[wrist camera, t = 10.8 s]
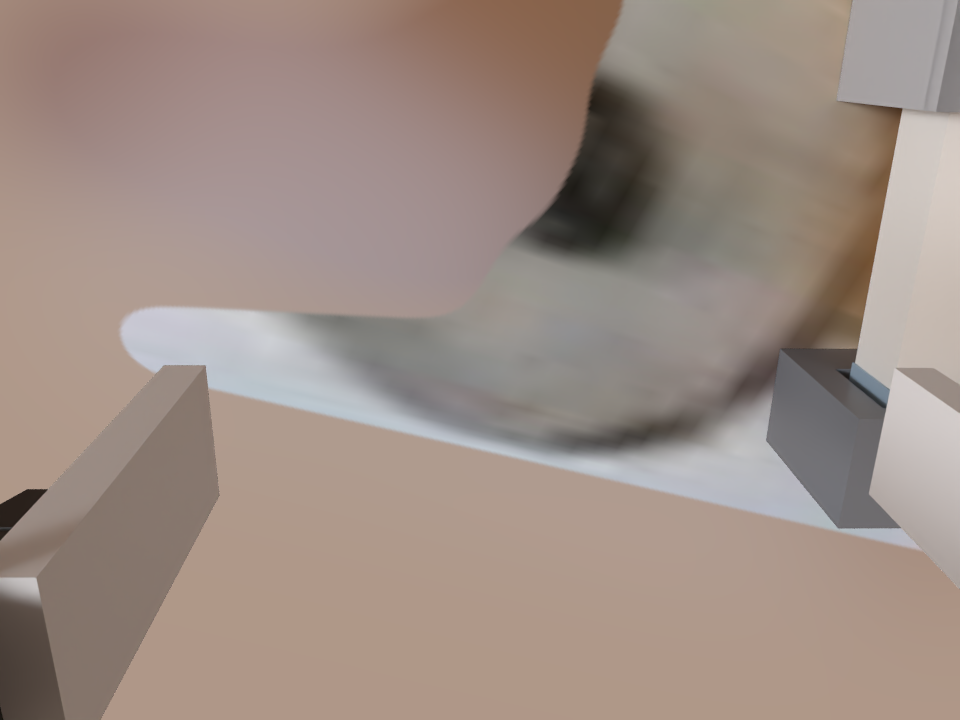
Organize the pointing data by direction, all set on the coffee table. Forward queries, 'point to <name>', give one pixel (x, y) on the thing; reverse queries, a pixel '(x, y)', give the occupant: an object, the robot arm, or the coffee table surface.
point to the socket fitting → (828, 434)
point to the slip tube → (915, 260)
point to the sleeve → (903, 55)
